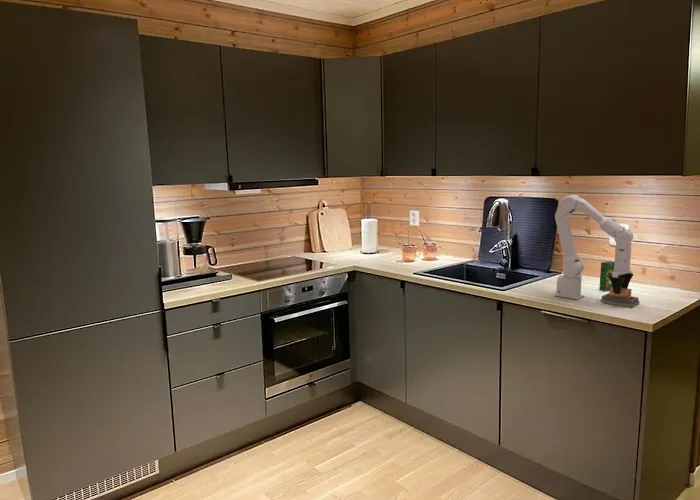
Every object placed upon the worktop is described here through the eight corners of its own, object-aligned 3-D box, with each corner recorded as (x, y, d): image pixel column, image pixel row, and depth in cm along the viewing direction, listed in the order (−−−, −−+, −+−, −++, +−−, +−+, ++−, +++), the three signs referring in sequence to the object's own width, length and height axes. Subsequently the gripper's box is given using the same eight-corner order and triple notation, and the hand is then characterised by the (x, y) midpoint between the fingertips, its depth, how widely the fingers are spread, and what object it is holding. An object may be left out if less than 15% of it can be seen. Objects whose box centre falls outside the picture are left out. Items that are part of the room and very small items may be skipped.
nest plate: (600, 302, 219) (600, 296, 219) (608, 298, 225) (609, 292, 225) (631, 308, 211) (631, 301, 210) (639, 303, 217) (639, 297, 216)
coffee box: (608, 287, 245) (610, 260, 243) (614, 289, 242) (616, 260, 240) (598, 290, 240) (600, 262, 238) (604, 291, 238) (606, 263, 236)
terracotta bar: (627, 302, 214) (627, 290, 213) (609, 299, 219) (609, 288, 218) (630, 301, 217) (631, 289, 216) (612, 298, 222) (613, 286, 221)
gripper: (626, 263, 207) (623, 296, 210) (639, 258, 217) (637, 290, 219) (607, 261, 212) (605, 293, 215) (621, 256, 222) (619, 287, 225)
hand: (620, 292), depth 217 cm, fingers open, 7 cm apart
